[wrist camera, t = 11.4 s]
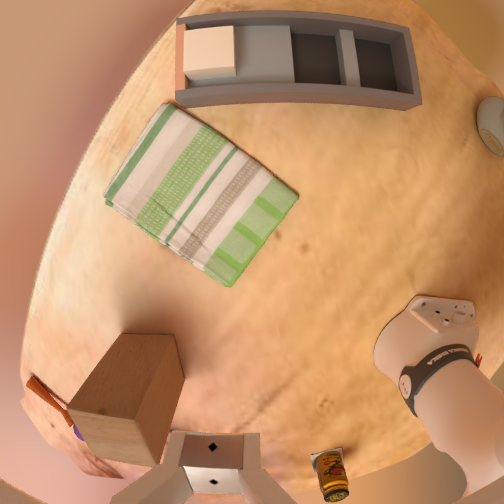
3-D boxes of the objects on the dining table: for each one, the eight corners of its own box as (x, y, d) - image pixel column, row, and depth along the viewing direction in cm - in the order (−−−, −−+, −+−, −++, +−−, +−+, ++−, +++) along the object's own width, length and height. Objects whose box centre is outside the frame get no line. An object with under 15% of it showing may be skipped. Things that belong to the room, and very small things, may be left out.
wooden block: (119, 332, 46) (64, 407, 27) (174, 333, 46) (134, 420, 26) (134, 378, 48) (94, 457, 29) (185, 381, 48) (159, 469, 29)
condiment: (341, 446, 53) (353, 487, 42) (344, 464, 55) (353, 501, 44) (309, 454, 54) (316, 496, 42) (314, 471, 56) (321, 510, 44)
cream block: (234, 38, 32) (233, 25, 28) (236, 76, 33) (234, 66, 30) (190, 43, 32) (184, 30, 28) (189, 80, 34) (183, 71, 30)
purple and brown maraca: (26, 378, 46) (96, 438, 47) (39, 368, 52) (105, 424, 53) (21, 393, 46) (87, 450, 47) (33, 383, 52) (96, 436, 53)
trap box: (393, 40, 34) (408, 27, 28) (404, 110, 37) (422, 104, 31) (185, 34, 34) (176, 18, 29) (185, 108, 37) (175, 99, 32)
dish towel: (169, 101, 37) (162, 95, 34) (301, 193, 41) (305, 195, 37) (106, 198, 41) (95, 201, 38) (228, 287, 44) (226, 296, 41)
